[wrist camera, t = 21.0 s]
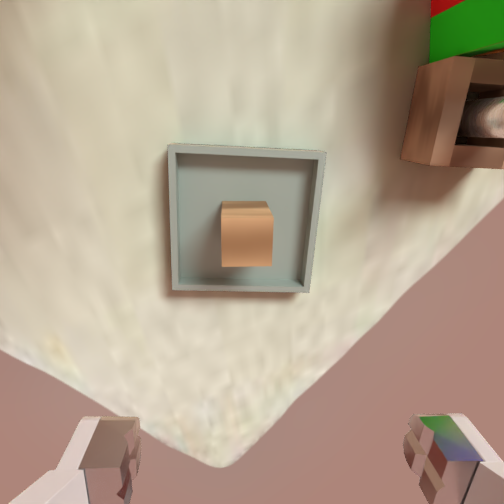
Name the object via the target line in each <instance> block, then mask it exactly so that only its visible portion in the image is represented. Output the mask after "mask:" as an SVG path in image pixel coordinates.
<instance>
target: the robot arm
mask: <svg viewBox="0 0 504 504" xmlns="http://www.w3.org/2000/svg"><path fill="white" fill-rule="evenodd" d="M408 424H409V426H410V428H411V430H410V431H409V432H408V433H407V434H406V435H405V437H404V442H403V448H404V454H405V458H406V461H407V463H408V465H409V467H410V469H411V470H412V471H413V472H414V473H415V474H417V475H418V476H419V477H420V480H419V486H420V488H421V490H422V492H423V494H424V496H425V497H426V499H427V501H428V503H429V504H504V461H502V460H501V459H500V457H499V456H498V455H497V454H496V453H495V451H494V450H493V449H492V448H491V446H490V445H489V444H488V443H487V441H486V440H485V439H484V438H483V437H482V435H481V434H480V433H479V432H478V430H477V429H476V428H475V427H474V426H473V424H472V423H471V422H470V421H469V419H468V418H467V417H466V416H464V415H463V414H461V413H459V414H413V415H412V416H411V417H410V420H409V423H408ZM139 429H140V421H139V418H138V417H118V416H102V417H98V416H84V417H83V418H82V419H81V421H80V422H79V423H78V425H77V427H76V429H75V432H74V433H73V435H72V437H71V439H70V441H69V444H68V445H67V447H66V449H65V451H64V453H63V455H62V457H61V459H60V461H59V463H58V465H57V467H56V469H55V470H49V471H48V472H47V473H45V474H44V475H43V476H41V477H40V478H39V479H38V480H37V481H35V482H34V483H33V484H31V486H29V487H28V488H27V489H25V490H24V491H23V492H22V493H20V494H19V495H18V496H17V497H16V498H14V499H13V500H12V501H11V502H9V503H8V504H129V503H130V500H131V496H132V480H133V479H134V478H135V477H136V476H137V473H138V469H139V464H140V458H141V438H140V437H139V436H138V432H139Z"/></svg>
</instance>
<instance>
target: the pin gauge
mask: <svg viewBox="0 0 504 504" xmlns="http://www.w3.org/2000/svg"><path fill="white" fill-rule="evenodd" d="M457 136H459V137H484V138H504V96H503V97H494V98H486V99H477V100H468V101H465V104H464V108H463V113H462V117H461V121H460V125H459V129H458V133H457Z"/></svg>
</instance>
